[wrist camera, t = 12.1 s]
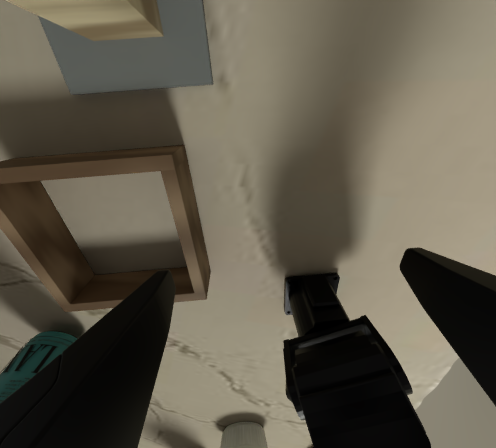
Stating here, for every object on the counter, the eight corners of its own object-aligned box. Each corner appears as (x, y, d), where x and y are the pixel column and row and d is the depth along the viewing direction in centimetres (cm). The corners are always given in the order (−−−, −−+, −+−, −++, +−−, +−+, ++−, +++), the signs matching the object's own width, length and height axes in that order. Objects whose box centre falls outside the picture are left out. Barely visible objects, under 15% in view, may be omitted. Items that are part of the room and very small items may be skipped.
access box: (210, 271, 24) (206, 299, 21) (89, 282, 24) (64, 312, 21) (184, 144, 17) (171, 154, 14) (13, 158, 17) (-43, 171, 14)
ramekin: (247, 414, 45) (248, 449, 40) (276, 427, 49) (280, 460, 45) (209, 429, 48) (206, 463, 43) (240, 440, 52) (240, 472, 48)
